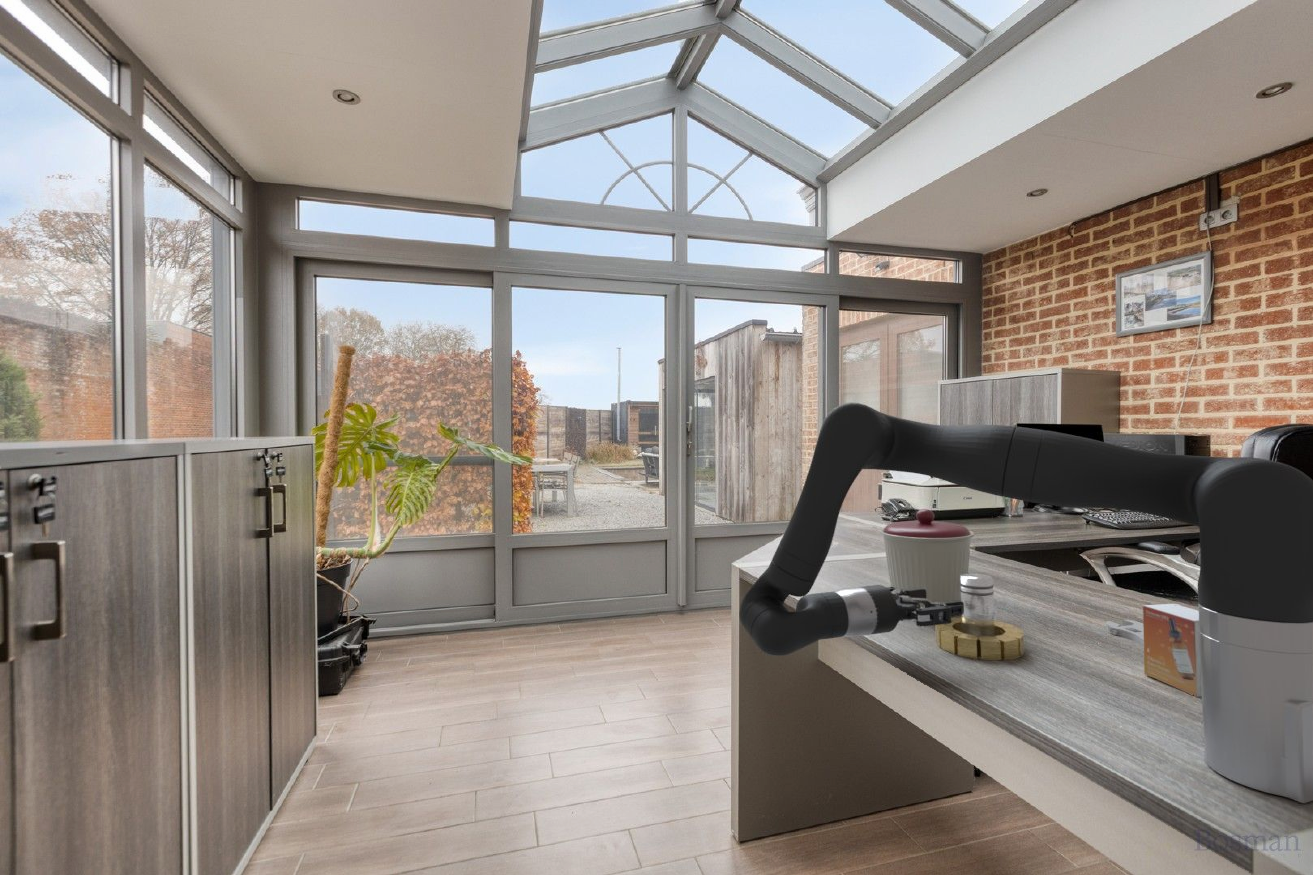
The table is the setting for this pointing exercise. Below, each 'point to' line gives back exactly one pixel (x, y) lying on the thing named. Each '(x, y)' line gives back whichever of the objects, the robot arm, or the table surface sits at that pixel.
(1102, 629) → the table surface
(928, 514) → the canister
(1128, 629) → the adjustable wrench
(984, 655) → the ring
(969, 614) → the spice jar
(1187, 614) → the small box
